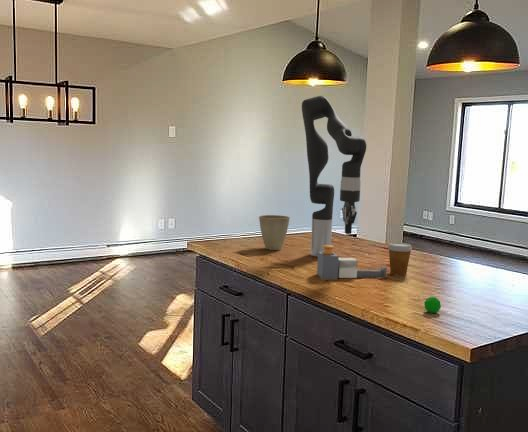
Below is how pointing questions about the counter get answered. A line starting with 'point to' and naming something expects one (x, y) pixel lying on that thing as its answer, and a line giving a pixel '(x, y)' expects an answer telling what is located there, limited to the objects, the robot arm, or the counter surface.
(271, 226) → the plant pot
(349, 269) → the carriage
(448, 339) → the counter surface
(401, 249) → the disposable coffee cup
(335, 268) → the grey hollow block
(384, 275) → the rail
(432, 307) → the polyhedron
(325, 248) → the plunger
